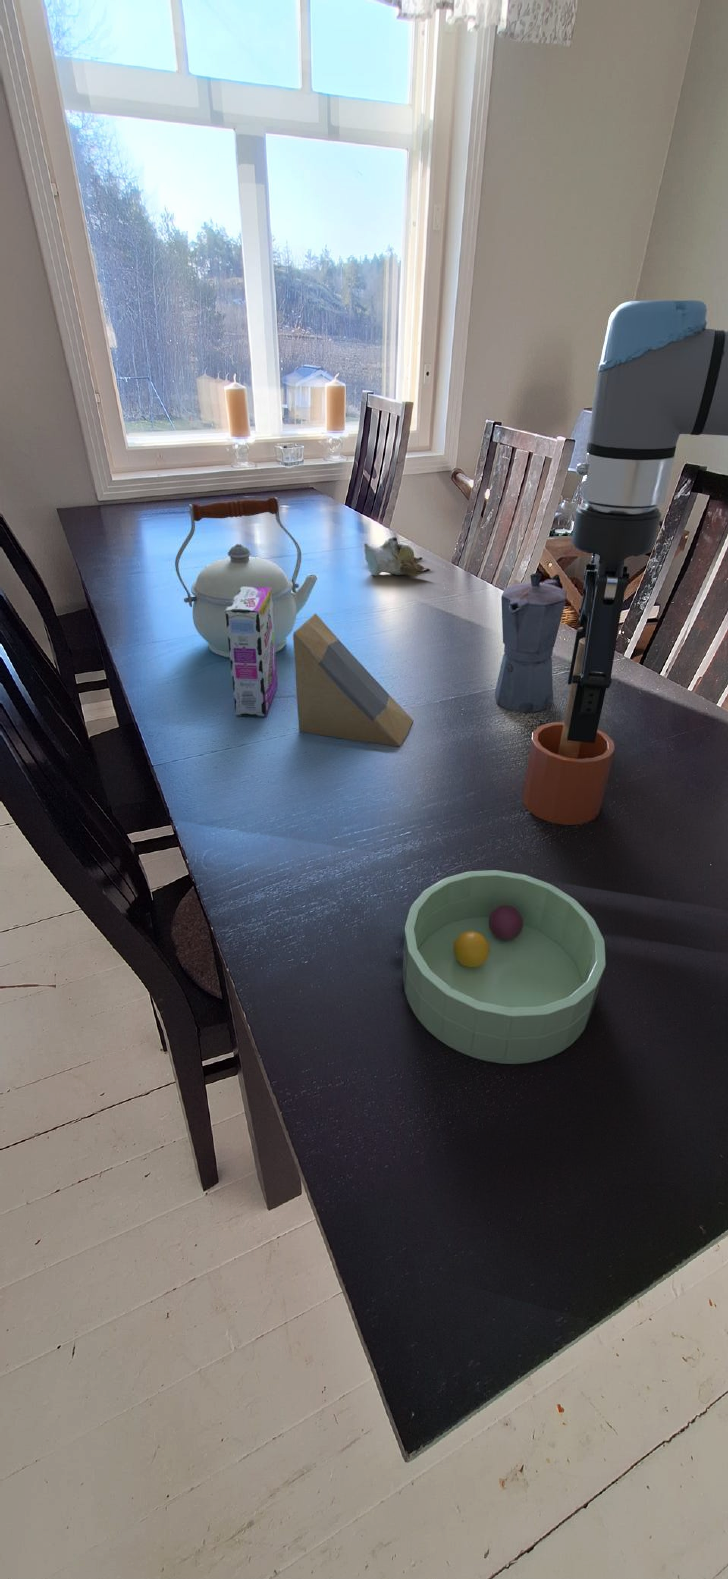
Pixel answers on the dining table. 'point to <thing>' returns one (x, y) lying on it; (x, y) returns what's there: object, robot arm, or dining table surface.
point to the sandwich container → (341, 691)
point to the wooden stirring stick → (566, 746)
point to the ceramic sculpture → (393, 558)
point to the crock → (566, 777)
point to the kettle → (242, 578)
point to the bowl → (502, 967)
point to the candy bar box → (252, 650)
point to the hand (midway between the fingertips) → (580, 710)
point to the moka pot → (529, 643)
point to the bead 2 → (505, 922)
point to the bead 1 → (471, 949)
